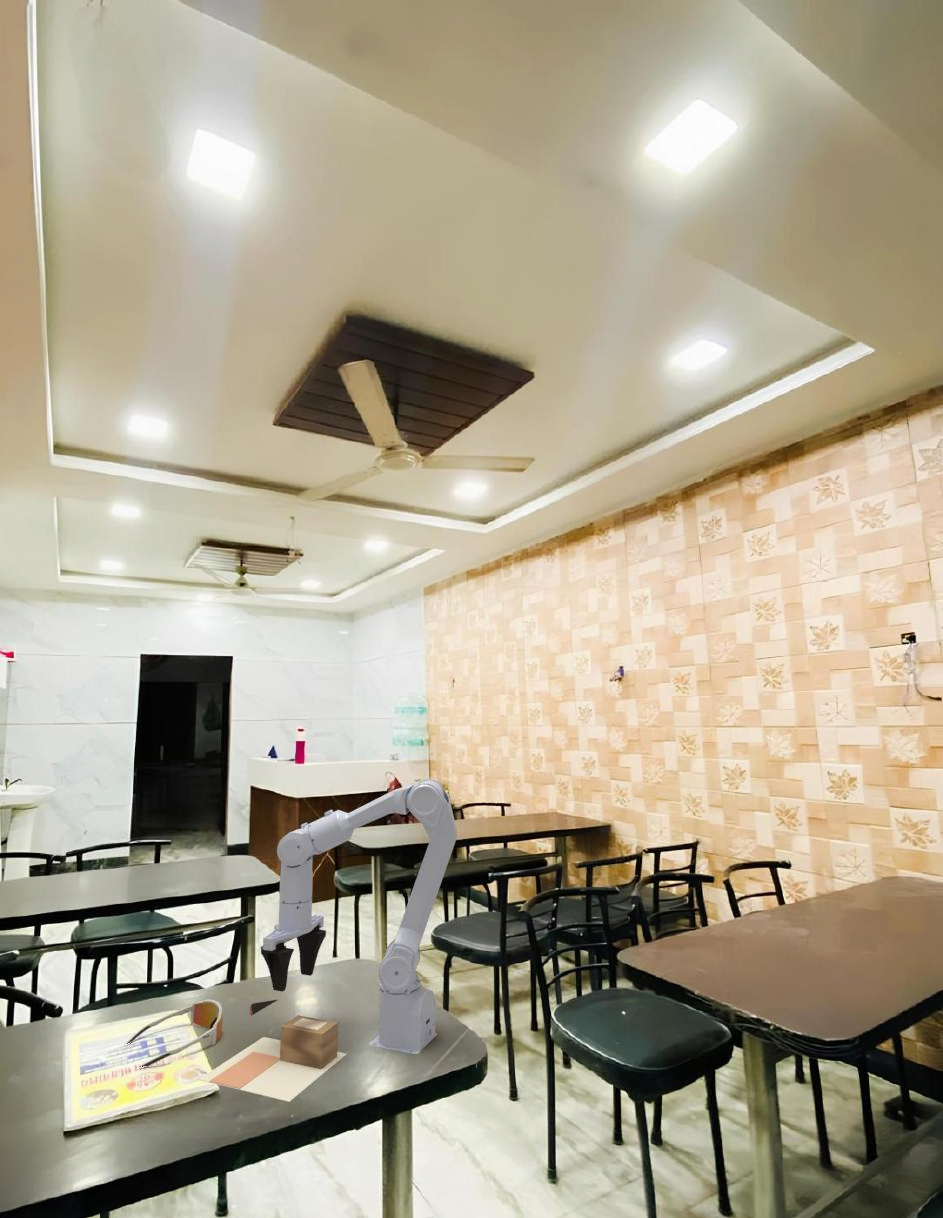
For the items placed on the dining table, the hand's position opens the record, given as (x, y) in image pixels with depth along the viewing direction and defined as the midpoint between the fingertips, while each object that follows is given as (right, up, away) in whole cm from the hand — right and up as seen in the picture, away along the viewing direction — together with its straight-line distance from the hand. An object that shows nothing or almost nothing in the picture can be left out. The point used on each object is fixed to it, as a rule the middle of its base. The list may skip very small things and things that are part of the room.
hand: (293, 982), depth 115 cm
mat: (0, -8, -11) cm, 14 cm away
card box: (+5, -7, -9) cm, 12 cm away
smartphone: (-6, -12, +8) cm, 15 cm away
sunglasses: (-20, -10, -2) cm, 22 cm away
